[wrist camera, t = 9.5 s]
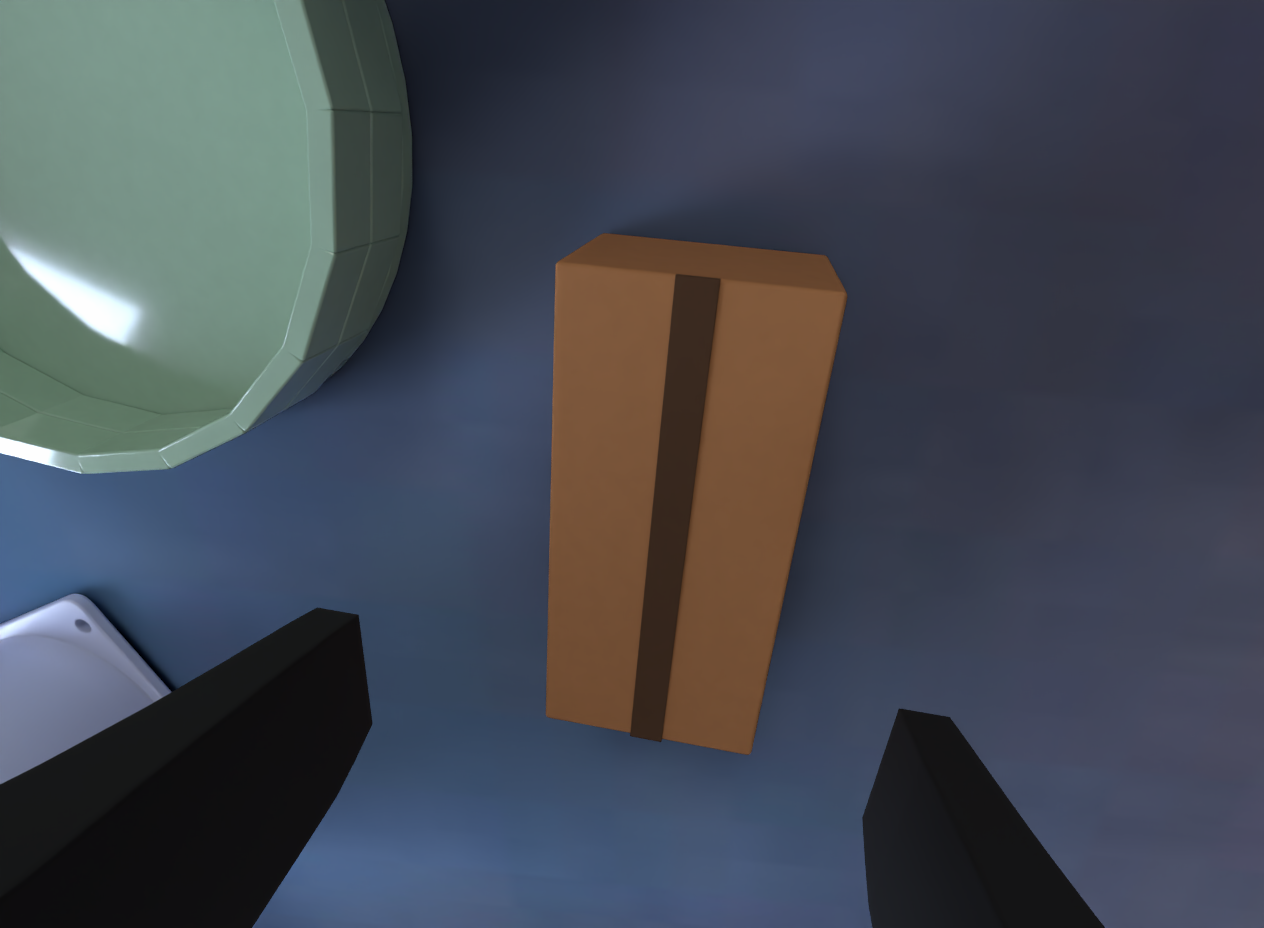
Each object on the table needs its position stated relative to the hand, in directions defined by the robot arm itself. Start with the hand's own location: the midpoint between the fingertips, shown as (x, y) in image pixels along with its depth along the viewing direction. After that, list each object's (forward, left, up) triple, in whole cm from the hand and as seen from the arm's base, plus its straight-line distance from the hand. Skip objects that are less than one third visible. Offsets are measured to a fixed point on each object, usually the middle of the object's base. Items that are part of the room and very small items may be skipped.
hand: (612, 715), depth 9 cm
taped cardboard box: (0, 0, -8) cm, 8 cm away
